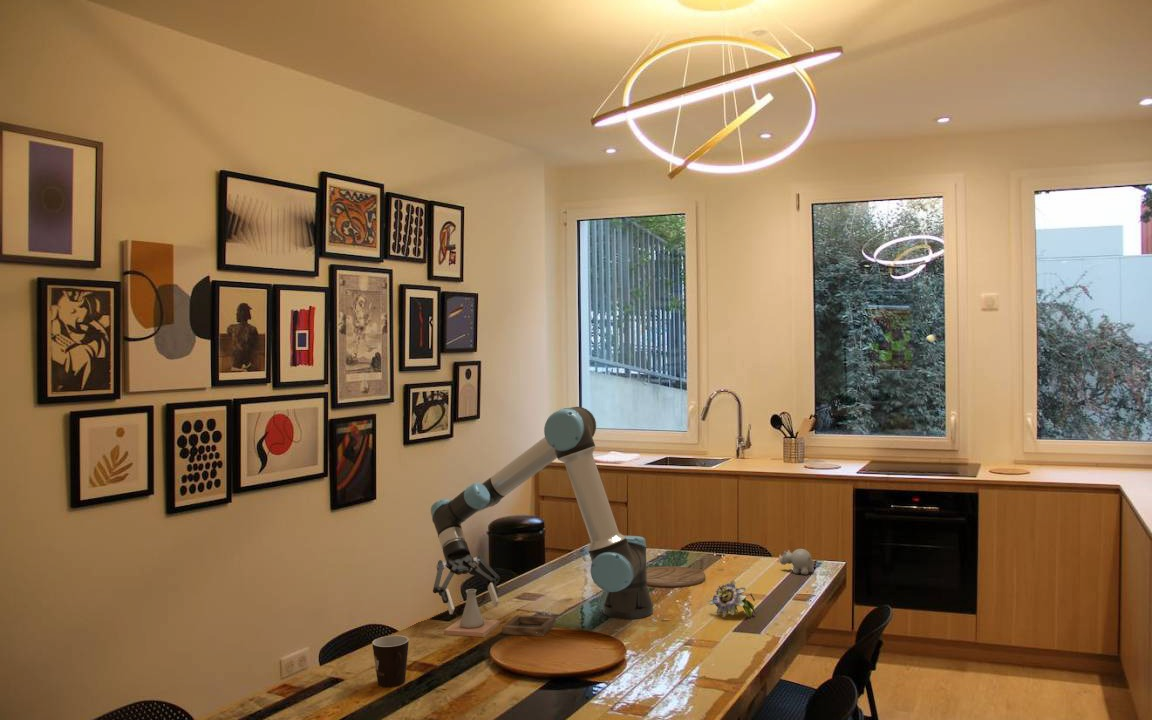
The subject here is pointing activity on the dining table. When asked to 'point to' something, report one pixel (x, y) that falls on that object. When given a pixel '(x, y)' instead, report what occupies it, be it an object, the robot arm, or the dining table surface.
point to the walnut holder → (530, 631)
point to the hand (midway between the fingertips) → (474, 608)
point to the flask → (471, 612)
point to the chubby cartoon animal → (798, 561)
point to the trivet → (673, 577)
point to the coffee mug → (390, 660)
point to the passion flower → (731, 600)
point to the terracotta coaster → (472, 629)
